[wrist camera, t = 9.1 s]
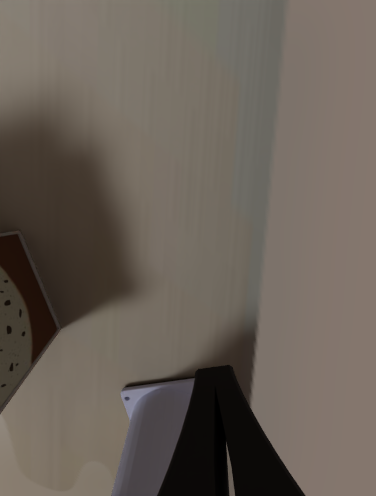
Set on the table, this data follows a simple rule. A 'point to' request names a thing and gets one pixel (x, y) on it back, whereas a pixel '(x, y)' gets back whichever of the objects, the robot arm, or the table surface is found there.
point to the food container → (21, 315)
